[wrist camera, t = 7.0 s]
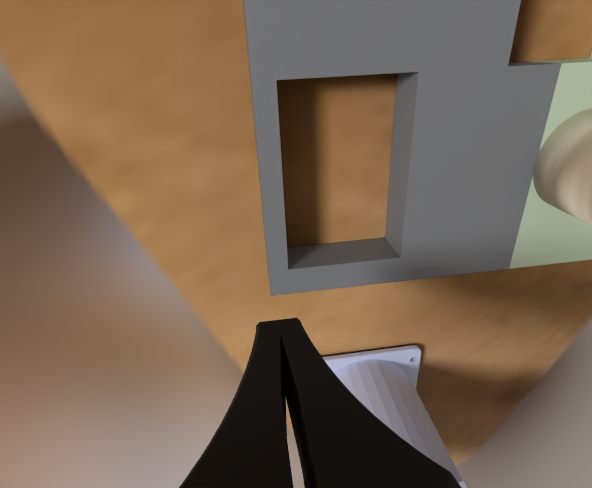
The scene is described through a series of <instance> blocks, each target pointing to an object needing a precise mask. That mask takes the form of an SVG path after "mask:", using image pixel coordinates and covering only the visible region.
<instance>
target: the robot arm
mask: <svg viewBox="0 0 592 488" xmlns="http://www.w3.org/2000/svg"><path fill="white" fill-rule="evenodd" d="M412 357H413V358H412ZM420 358H421V350H420V348H419V347H418V346H416V345H412V346H404V347H396V348H389V349H381V350H373V351H366V352H358V353H351V354H343V355H335V356H328V357H322V356H321V355H320V354H319V352H318V351H317V349H316V348H315V346H314V345H313V343H312V342H311V340H310V339H309V337H308V335H307V334H306V332H305V330H304V328H303V326H302V324H301V322H300V320H299V319H297V318H291V319H283V320H274V321H266V322H259V323H258V324H257V325H256V335H255V340H254V344H253V348H252V352H251V355H250V358H249V361H248V364H247V367H246V370H245V373H244V375H243V378H242V380H241V382H240V385H239V388H238V390H237V392H236V394H235V397H234V399H233V401H232V403H231V405H230V407H229V409H228V411H227V413H226V415H225V417H224V419H223V421H222V423H221V424H220V426H219V428H218V429H217V431H216V433H215V435H214V436H213V438H212V440H211V442H210V443H209V445H208V446H207V448H206V450H205V451H204V453H203V454H202V456H201V457H200V459H199V460H198V462H197V463H196V464H195V466H194V467H193V469H192V470H191V472H190V473H189V475H188V476H187V477H186V479H185V480H184V482H183V483H182V485H181V486H180V487H179V488H293V481H292V474H291V467H290V459H289V452H288V444H287V428H286V400H287V404H288V409H289V413H290V417H291V422H292V426H293V431H294V435H295V439H296V444H297V448H298V453H299V457H300V462H301V467H302V472H303V478H304V486H305V488H469V486H468V484H467V483H466V481H464V480H462V478H461V476H460V474H459V472H458V470H457V468H456V466H455V464H454V462H453V461H452V459H451V457H450V455H449V453H448V451H447V449H446V447H445V445H444V443H443V441H442V439H441V437H440V435H439V433H438V431H437V429H436V428H435V426H434V424H433V422H432V420H431V418H430V416H429V414H428V412H427V410H426V408H425V406H424V404H423V402H422V400H421V398H420V397H419V395H418V393H417V391H416V386H417V379H418V372H419V365H420Z"/></svg>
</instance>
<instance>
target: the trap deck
mask: <svg viewBox="0 0 592 488" xmlns="http://www.w3.org/2000/svg"><path fill="white" fill-rule="evenodd" d="M520 3H521V0H243V4H244V15H245V26H246V37H247V48H248V58H249V69H250V80H251V91H252V102H253V113H254V124H255V134H256V145H257V156H258V167H259V178H260V189H261V199H262V210H263V221H264V232H265V243H266V254H267V265H268V275H269V282H270V290H271V296H274V295H282V294H291V293H300V292H309V291H318V290H326V289H335V288H344V287H353V286H362V285H371V284H379V283H388V282H397V281H406V280H415V279H423V278H432V277H441V276H450V275H459V274H468V273H476V272H485V271H494V270H503V269H512V268H520V267H529V266H538V265H547V264H556V263H565V262H573V261H582V260H591V259H592V226H591V225H589V224H587V223H585V222H583V221H581V220H579V219H577V218H575V217H573V216H571V215H569V214H567V213H565V212H563V211H561V210H559V209H557V208H555V207H553V206H552V205H550V204H548V203H546V202H544V201H543V200H542V199H541V198H540V197H539V196H538V194H537V192H536V190H535V187H534V183H533V169H534V164H535V161H536V158H537V155H538V153H539V151H540V149H541V147H542V145H543V144H544V142H545V141H546V139H547V138H548V137H549V135H550V134H551V133H552V132H553V131H554V130H555V129H556V128H557V127H558V126H559V125H560V124H561V123H562V122H564V121H565V120H566V119H568V118H569V117H571V116H573V115H574V114H576V113H578V112H581V111H583V110H586V109H589V108H592V53H591V57H590V58H580V59H562V60H545V61H527V62H510V63H509V59H510V54H511V49H512V44H513V39H514V34H515V28H516V23H517V18H518V13H519V8H520ZM390 73H397V85H396V99H395V112H394V126H393V140H392V153H391V167H390V180H389V194H388V207H387V221H386V234H385V238H377V239H367V240H357V241H348V242H338V243H328V244H318V245H308V246H298V247H288V248H287V240H286V224H285V208H284V192H283V176H282V160H281V144H280V128H279V112H278V96H277V80H287V79H304V78H321V77H338V76H356V75H373V74H390Z"/></svg>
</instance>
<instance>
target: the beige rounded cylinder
mask: <svg viewBox="0 0 592 488" xmlns="http://www.w3.org/2000/svg"><path fill="white" fill-rule="evenodd" d="M533 183H534V187H535V190H536V192H537V194H538V196H539V197H540V198H541V199H542V200H543V201H544V202H546V203H548V204H550V205H552V206H553V207H555V208H557V209H559V210H561V211H563V212H565V213H567V214H569V215H571V216H573V217H575V218H577V219H579V220H581V221H583V222H585V223H587V224H589V225H591V226H592V108H589V109H586V110H583V111H581V112H578V113H576V114H574V115H573V116H571V117H569V118H568V119H566V120H565V121H564V122H562V123H561V124H560V125H559V126H558V127H557V128H556V129H555V130H554V131H553V132H552V133H551V134H550V135H549V137H548V138H547V139H546V141H545V142H544V144H543V145H542V147H541V149H540V151H539V153H538V155H537V158H536V161H535V164H534V169H533Z"/></svg>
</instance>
